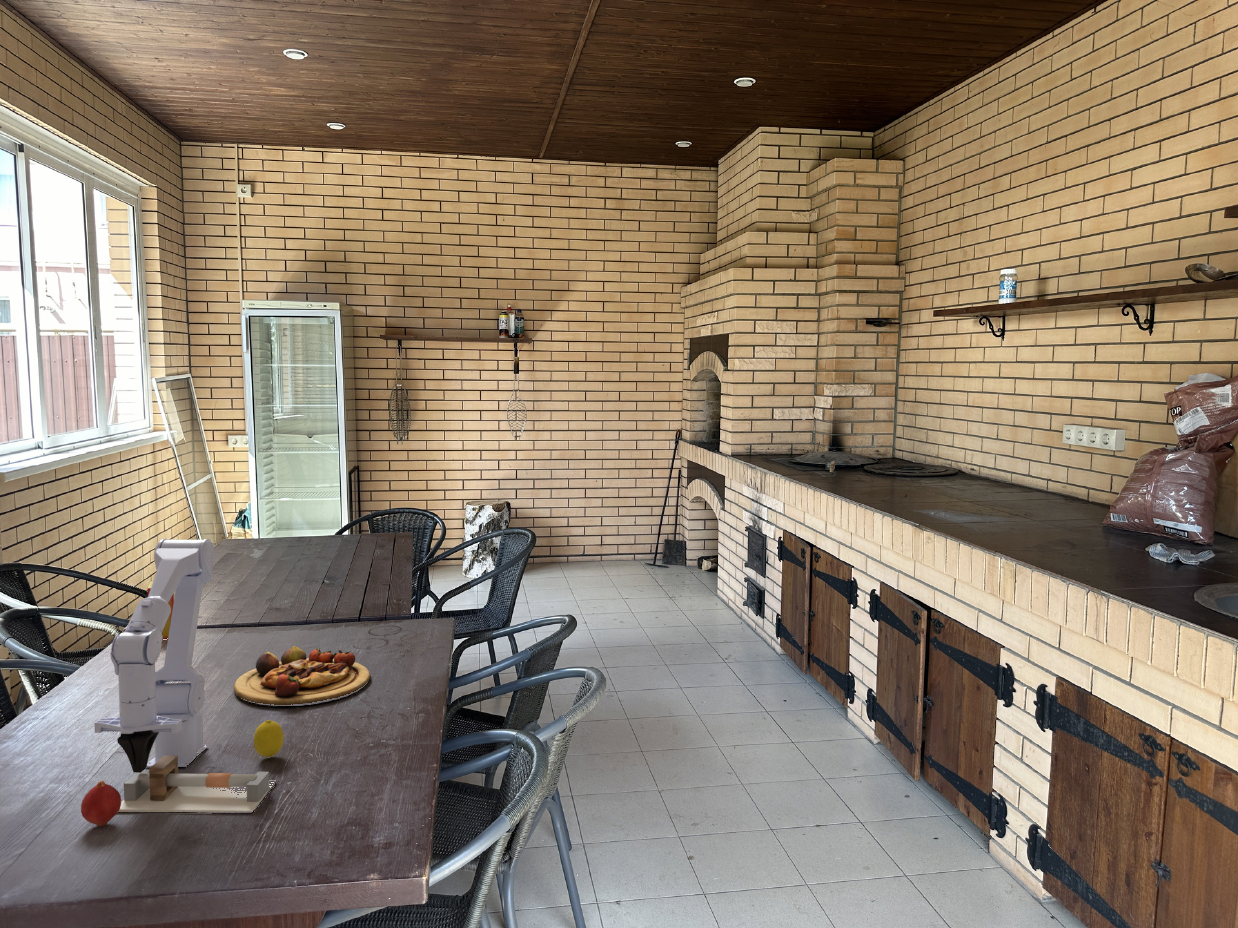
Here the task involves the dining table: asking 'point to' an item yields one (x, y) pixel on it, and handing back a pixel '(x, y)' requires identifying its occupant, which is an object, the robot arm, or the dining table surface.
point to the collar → (162, 777)
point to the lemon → (268, 738)
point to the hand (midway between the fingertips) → (140, 769)
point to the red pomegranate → (101, 804)
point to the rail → (197, 793)
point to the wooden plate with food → (301, 677)
